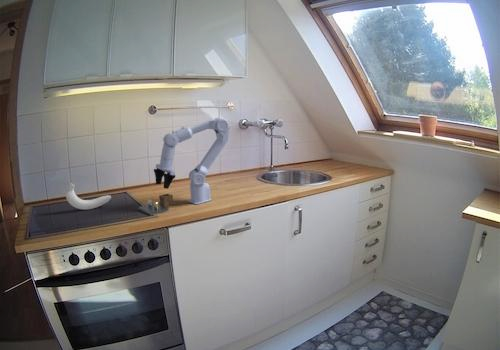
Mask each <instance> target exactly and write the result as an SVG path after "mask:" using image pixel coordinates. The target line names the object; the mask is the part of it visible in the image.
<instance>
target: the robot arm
mask: <svg viewBox="0 0 500 350" xmlns="http://www.w3.org/2000/svg"><path fill="white" fill-rule="evenodd" d="M229 124H230V123H229V122H228V120H227V119H225V118H220V117H216V118H215V117H214V119H208V120H206V121H204V122H201V123H199V124H197V125H194V126H192V127H188V126H181V128H180V129H177V130H172V131H171V132H172V133H171V132H168V133H166V134H165V135H164V137H163V138H162V141H163V146H162V148H161V149H162V150H161V155H160V160H159V163H156V164H155V168H154V169H153V173H154V176H155V184H156V185H161V184H162V181H163V189H164V190H165V189H167V190H168V189H169V188H170V186H171V183H172V181H174V179H175V178H176V170H174V169H173V168H172V166H173V162H174V157H175V151H176V150H175V149H176V145H178V143H183V142H184V141H187V140H189V139H191V138H192V137H193V135H194V134H198V133H201V132H203V131H206V130H213V131H214V132H215V136H216V139H215V141H214V142H213V144H211V146H210V148H209V149H208V150H207V152H206V154H205V155H204V157H203V158H202V160H201V161H200V163H199V164H197V165H196V166H195V168H194V169H192V170H190V172H189V173H188V178H189V180H190V183H189V191H190V199H188V200H187V202H189V203H191V204H193V205H200V204H203V203H206V202H209V201H212V198H211V197H212V196H211V188H210V185H209V183H208V182H205V181H206V177H207V175H208V171H209V169H210V168H211V166H212V165H213V164H214V161H216V159H217V158H218V156H219V154H220V153H221V151H222V150H223V148H224V147H225V145H226V144H227V142H228V141H229V135H230V134H229V133H230V129H231V127H230V125H229Z"/></svg>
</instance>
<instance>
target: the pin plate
mask: <svg viewBox="0 0 500 350" xmlns="http://www.w3.org/2000/svg"><path fill="white" fill-rule="evenodd" d="M138 210H139V211H141V212H142V213H145V214H147V215H149V216H154V215H153V214H155V215H158V214H161V212H162V213H164V212H168V211H169V210H170V208H168V207H165V206H162V205H160V203H159V201H154V202H153V199H151V198H149V199H147V204H146V205H142V206H138ZM157 213H158V214H157Z"/></svg>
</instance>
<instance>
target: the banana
mask: <svg viewBox="0 0 500 350" xmlns="http://www.w3.org/2000/svg"><path fill="white" fill-rule="evenodd" d="M69 186H70V188H69V190H68V191H67V192H66V194H65V198H66V200H67V202H68V203H69V205H70V206H71V207H74V208H76V209H78V210H87V211H88V210H93V209H96V208H99V207H100V206H101V207H102V205H105V204H106V203H108V202H109V201H110V200H111V199H112V196H111V195H103V196H99V197H97V198H94V199H86V200H85V199H81V198H80V197H79V196H78V195H77V194H76V192H75V190H74V189H75V186H76V185H75V184H73V183H72V182H70V185H69Z"/></svg>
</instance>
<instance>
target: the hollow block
mask: <svg viewBox="0 0 500 350" xmlns="http://www.w3.org/2000/svg"><path fill="white" fill-rule="evenodd" d="M158 198H159V199H158V200H159V204H160V205H162V206H165V207H167V208H168V207H171V206H174V198H173V195H172V194H171V193H164V194H159V195H158Z"/></svg>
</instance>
